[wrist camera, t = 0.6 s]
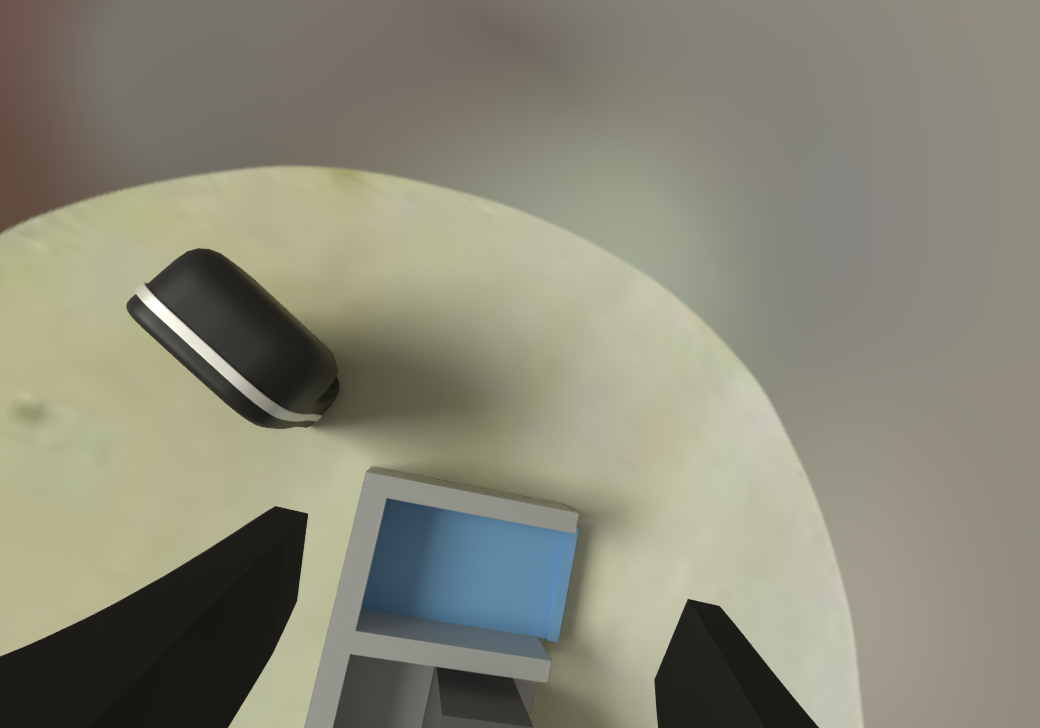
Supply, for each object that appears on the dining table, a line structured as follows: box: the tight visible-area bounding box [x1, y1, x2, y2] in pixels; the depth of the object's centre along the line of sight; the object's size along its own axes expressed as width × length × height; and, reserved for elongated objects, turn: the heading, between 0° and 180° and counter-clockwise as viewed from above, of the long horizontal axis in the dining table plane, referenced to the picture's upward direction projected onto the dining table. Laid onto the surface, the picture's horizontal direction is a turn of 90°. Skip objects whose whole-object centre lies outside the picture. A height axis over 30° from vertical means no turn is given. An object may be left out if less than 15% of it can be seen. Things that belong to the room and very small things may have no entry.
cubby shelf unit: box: [304, 467, 579, 728], centre depth 29 cm, size 15×12×4 cm
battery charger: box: [126, 248, 339, 429], centre depth 26 cm, size 7×4×11 cm, turn 47°
